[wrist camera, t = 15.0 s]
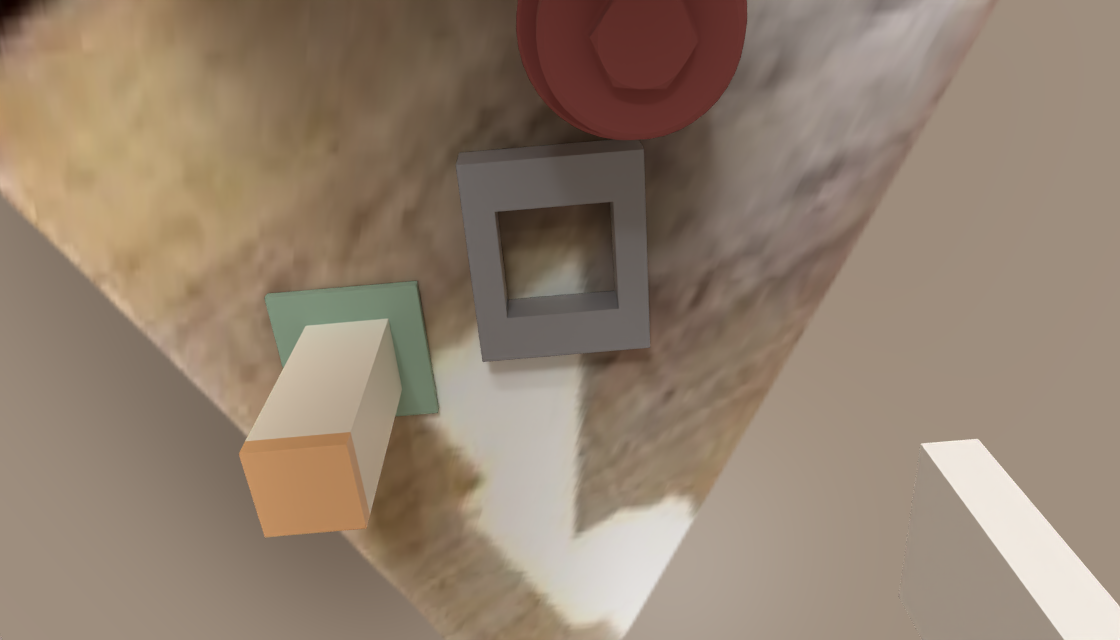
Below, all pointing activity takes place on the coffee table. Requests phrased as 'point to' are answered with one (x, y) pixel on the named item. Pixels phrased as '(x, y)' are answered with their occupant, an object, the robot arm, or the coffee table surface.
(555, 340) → the grey square frame
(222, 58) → the coffee table surface
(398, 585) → the coffee table surface
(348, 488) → the plug
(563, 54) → the mechanical component
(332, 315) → the mat
